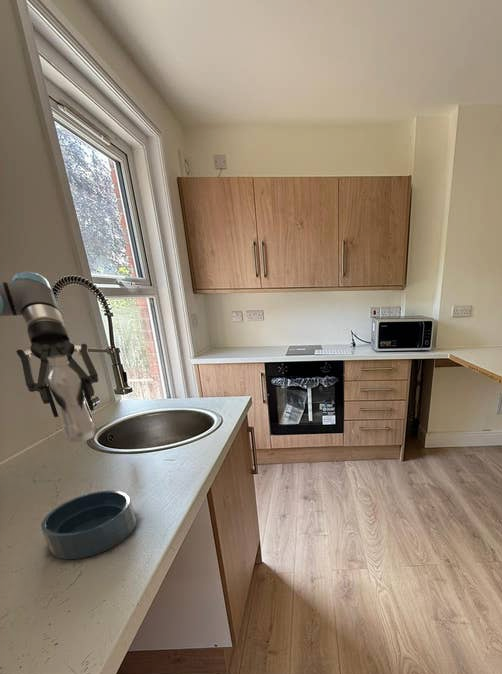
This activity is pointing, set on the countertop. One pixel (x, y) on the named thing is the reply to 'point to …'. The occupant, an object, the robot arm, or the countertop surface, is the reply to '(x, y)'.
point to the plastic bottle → (70, 399)
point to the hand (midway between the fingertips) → (73, 410)
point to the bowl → (89, 524)
